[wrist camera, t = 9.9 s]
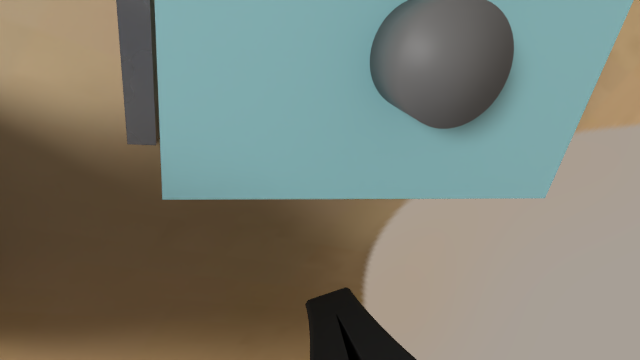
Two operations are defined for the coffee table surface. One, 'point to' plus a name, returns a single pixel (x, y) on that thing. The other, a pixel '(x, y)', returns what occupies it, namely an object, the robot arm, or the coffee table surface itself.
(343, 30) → the block
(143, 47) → the press frame
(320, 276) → the coffee table surface
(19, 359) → the coffee table surface
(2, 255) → the coffee table surface
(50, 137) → the coffee table surface
